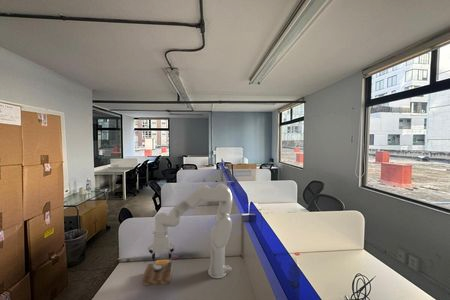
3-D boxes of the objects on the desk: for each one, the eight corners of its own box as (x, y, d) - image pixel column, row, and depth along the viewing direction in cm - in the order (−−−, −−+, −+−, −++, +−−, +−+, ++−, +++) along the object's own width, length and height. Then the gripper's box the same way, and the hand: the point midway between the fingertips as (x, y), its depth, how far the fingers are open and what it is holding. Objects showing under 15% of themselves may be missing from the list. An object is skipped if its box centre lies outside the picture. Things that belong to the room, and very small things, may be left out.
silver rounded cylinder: (164, 273, 138) (164, 260, 138) (162, 280, 132) (162, 266, 132) (154, 274, 138) (154, 261, 137) (152, 280, 132) (152, 266, 131)
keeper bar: (171, 261, 137) (171, 259, 137) (170, 264, 134) (170, 262, 134) (156, 262, 136) (156, 260, 135) (155, 264, 133) (155, 262, 133)
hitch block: (172, 271, 142) (172, 255, 141) (170, 283, 130) (170, 266, 129) (147, 272, 140) (147, 256, 139) (143, 285, 128) (142, 268, 127)
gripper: (145, 236, 128) (146, 263, 130) (174, 235, 130) (175, 261, 132) (148, 231, 136) (149, 256, 137) (176, 229, 138) (176, 255, 139)
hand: (161, 259), depth 134 cm, fingers open, 9 cm apart
